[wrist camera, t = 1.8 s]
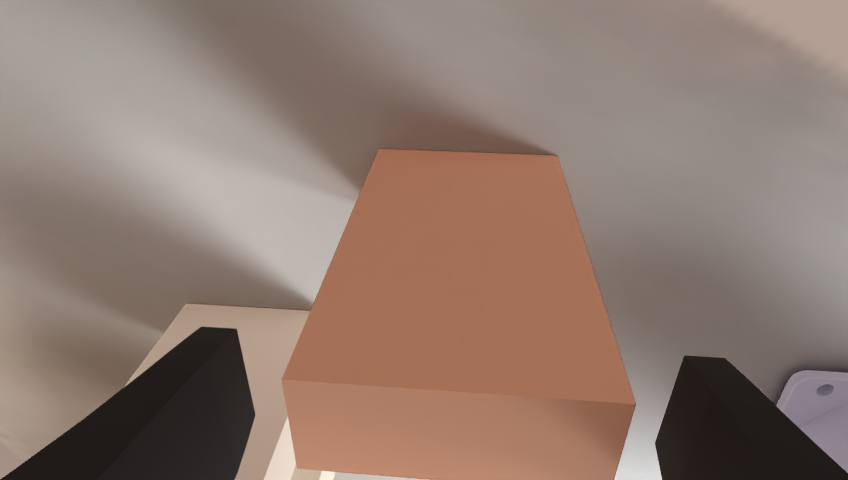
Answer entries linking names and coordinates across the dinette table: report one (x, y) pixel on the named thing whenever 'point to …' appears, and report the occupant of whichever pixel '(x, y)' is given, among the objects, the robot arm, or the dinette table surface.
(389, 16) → the dinette table surface
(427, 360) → the terracotta domino
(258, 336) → the domino
